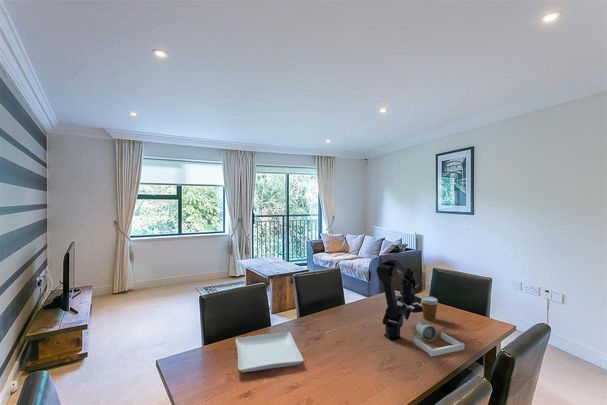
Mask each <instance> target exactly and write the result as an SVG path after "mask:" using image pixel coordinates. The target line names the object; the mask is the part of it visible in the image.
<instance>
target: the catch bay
mask: <svg viewBox="0 0 607 405" xmlns="http://www.w3.org/2000/svg"><path fill="white" fill-rule="evenodd" d="M440 338H441V339H442V340H444V341H446V342H447V343H449V344H451V345H446V346H442V347H437V348H432V347H430V346H428V345H427V344H426V343H424V342H423V341H421V339H417V338H413V344H414V345H416V346H417V347H419V348H420V349H421V350H422V351H424V352H426V353H427V354H428V355H429V356H430V357H435V356H441V355H444V354H446V355H447V354H450V353H453V352H459V351H464V350H465V343H463V342H460V341H458V340H457V339H455V338H453V337H451V336H450V335H447V334H446V333H444V332H441V333H440Z"/></svg>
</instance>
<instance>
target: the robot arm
mask: <svg viewBox="0 0 607 405" xmlns="http://www.w3.org/2000/svg"><path fill="white" fill-rule="evenodd" d="M397 274H398V276H399V277H400V278H401V279H402V280H401V281H400V283H399V284H400V285H401V291H399V294H400V295H396V291H395V285H394V280H395V278H396V275H397ZM376 275H377V278H378V279H379V280H380V282H381V283H382V284H383V291H384V296H385V300H386V304H387V307H386V310H385V313H384V315H383V318H382V324H383V325H385V333H383V336H384V337H385V338H386V339H388V340H389V341H391V342H392V341H397V340H401V339H402V336H401V328H402V327H403V323H404V318H405V320H409V318H410V315H411V313H412V314H417V313H423V308H422V305H421V304H422V303H421V300H422V298H421V297H420V296H417V295H416V294H415V293H414V292H413V290H414V289H415V288H418V287H419V286H420V284H421V282H420V280H419V279H418V277H417V274H416V271H415V270H414V269H413V268H409V267H406V266H405V265H404V264H402V263H401V262H400V260H398V259H393V258H389V259H387V261H383V262H382V263H380V264H379V265H378V266H376ZM398 302H399V304H398Z"/></svg>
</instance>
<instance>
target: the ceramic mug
mask: <svg viewBox="0 0 607 405" xmlns="http://www.w3.org/2000/svg"><path fill="white" fill-rule="evenodd" d="M437 332H438V331H437V329H436V328H435V326H433V325H432V324H430V323H428V321H422V320H421V321H418V323H416V325H415V330H414V331H413V332H412V333H411V335H412V338H413V339H414V338H417V339H418V340H421V339H423V340H425V341H426V342H433V341H434V340H435V339H436V338H437V334H438V333H437ZM416 334H418V335H417V336H415V335H416Z"/></svg>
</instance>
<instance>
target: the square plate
mask: <svg viewBox="0 0 607 405" xmlns="http://www.w3.org/2000/svg"><path fill="white" fill-rule="evenodd" d="M235 345H236V350H237V352H236V353H237V367H238V368H237V369H238V370H239V372H241V373H248V372H256V371H257V372H258V371H261V370H262V371H264V370H270V369H276V368H286V367H293V366H298V365H301V364H302V363H303V362H304V358H303V356H302V354H301V351H300V350H299V349H298V346H297V344H296V342H295V339H294V338H293V336H292V334H291V332H289V331H286V332H276V333H275V332H274V333H266V334H257V335H251V336H244V337H237V338H235Z"/></svg>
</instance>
